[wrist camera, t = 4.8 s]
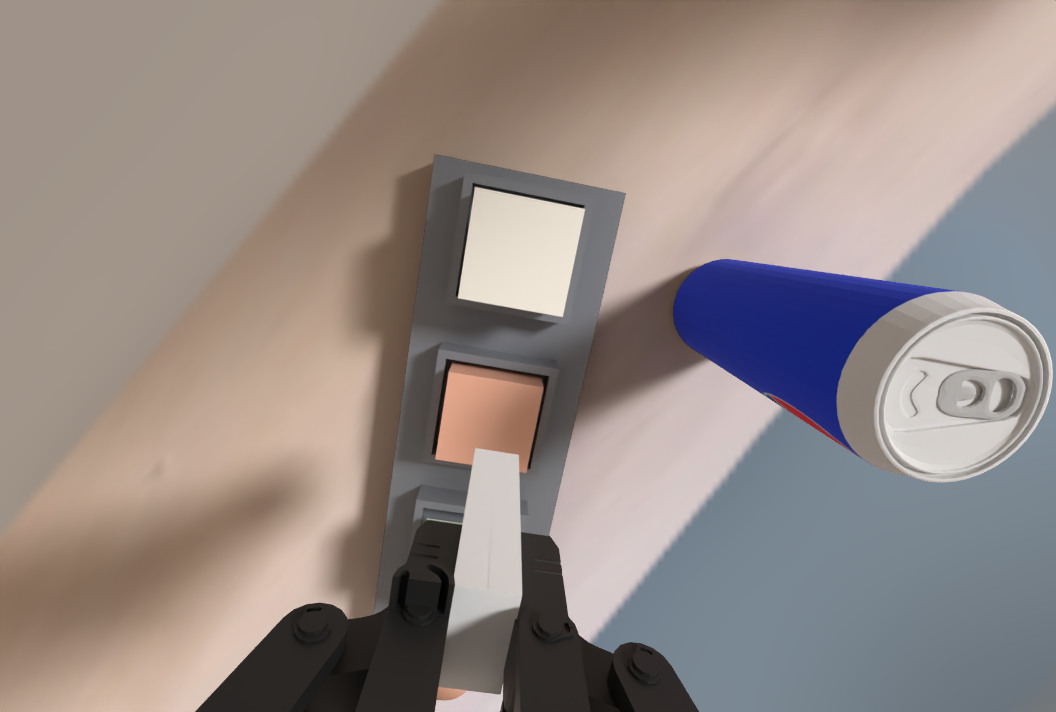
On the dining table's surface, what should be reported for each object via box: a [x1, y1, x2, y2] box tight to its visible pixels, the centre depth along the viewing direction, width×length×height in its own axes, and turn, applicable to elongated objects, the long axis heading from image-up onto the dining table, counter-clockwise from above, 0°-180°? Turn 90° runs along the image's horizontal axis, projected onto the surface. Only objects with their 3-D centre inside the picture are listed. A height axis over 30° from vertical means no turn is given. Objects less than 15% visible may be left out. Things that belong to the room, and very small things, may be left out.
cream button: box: [458, 187, 585, 317], centre depth 21 cm, size 4×4×2 cm
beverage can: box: [673, 259, 1053, 482], centre depth 20 cm, size 5×5×15 cm
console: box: [373, 154, 626, 700], centre depth 25 cm, size 26×9×7 cm, turn 170°
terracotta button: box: [435, 360, 544, 473], centre depth 24 cm, size 4×4×2 cm
